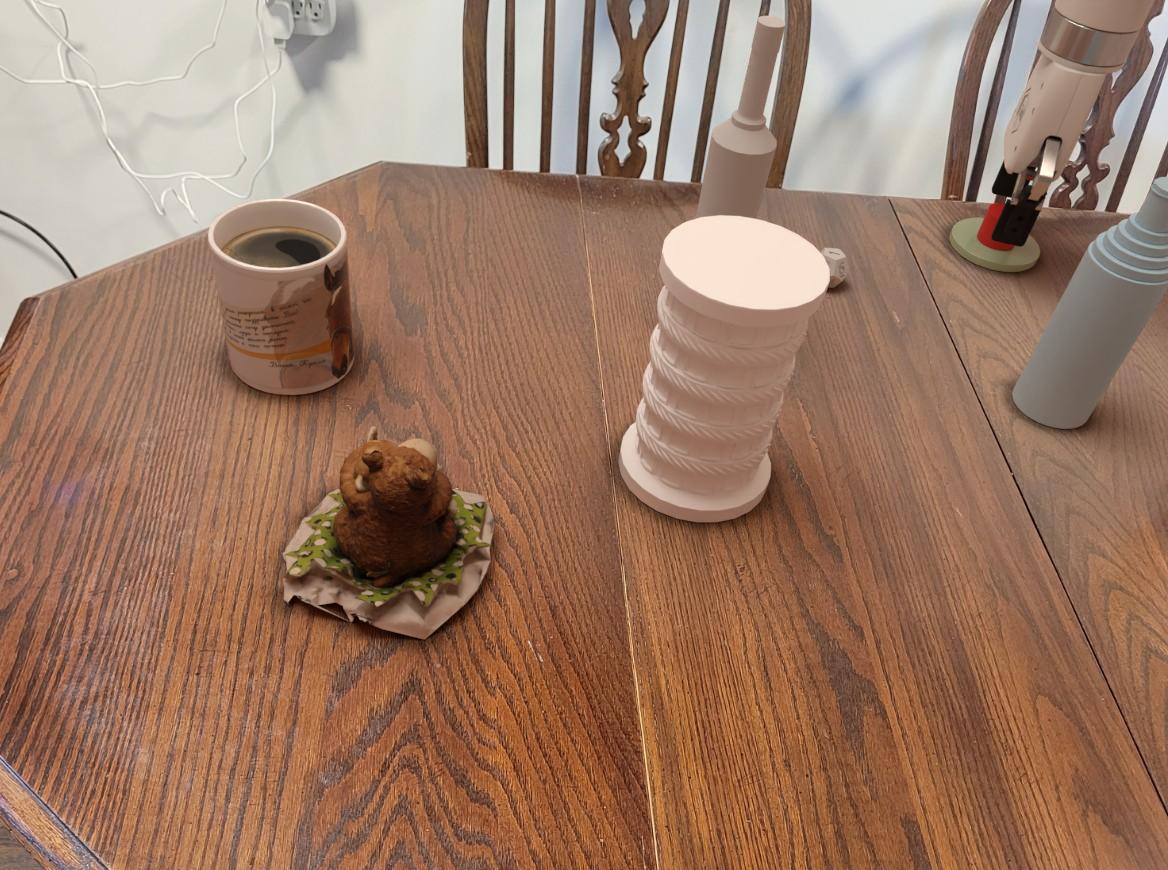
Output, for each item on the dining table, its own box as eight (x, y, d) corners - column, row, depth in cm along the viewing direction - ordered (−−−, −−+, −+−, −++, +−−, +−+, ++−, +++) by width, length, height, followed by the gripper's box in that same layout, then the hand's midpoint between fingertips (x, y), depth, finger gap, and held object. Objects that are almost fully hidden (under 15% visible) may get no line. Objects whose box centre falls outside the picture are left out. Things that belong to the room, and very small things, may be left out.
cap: (973, 227, 108) (985, 200, 105) (1010, 232, 108) (1023, 205, 106) (980, 248, 105) (992, 220, 103) (1018, 253, 105) (1031, 225, 103)
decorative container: (618, 515, 76) (658, 302, 63) (618, 413, 84) (654, 203, 70) (774, 529, 77) (848, 322, 63) (760, 427, 84) (823, 222, 71)
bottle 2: (1086, 391, 92) (1214, 175, 77) (1090, 437, 88) (1228, 217, 73) (1011, 373, 93) (1124, 155, 78) (1012, 418, 89) (1132, 196, 73)
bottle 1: (663, 307, 94) (722, 9, 75) (712, 298, 96) (782, 4, 77) (691, 340, 91) (760, 39, 72) (741, 330, 93) (821, 33, 74)
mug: (204, 339, 85) (179, 212, 76) (336, 298, 90) (327, 175, 82) (265, 411, 80) (245, 284, 71) (401, 363, 85) (398, 239, 77)
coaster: (1035, 236, 110) (1039, 229, 109) (1038, 280, 104) (1041, 273, 103) (950, 216, 110) (953, 209, 110) (947, 259, 105) (950, 252, 104)
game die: (841, 296, 98) (851, 268, 96) (803, 286, 99) (811, 257, 96) (846, 277, 100) (856, 249, 98) (809, 267, 101) (817, 239, 99)
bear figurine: (526, 511, 75) (540, 375, 66) (440, 663, 66) (442, 528, 57) (356, 455, 77) (346, 314, 68) (247, 594, 68) (219, 453, 59)
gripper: (1041, -5, 98) (970, 171, 111) (1047, 66, 86) (967, 252, 99) (1122, 12, 97) (1041, 187, 110) (1139, 86, 86) (1046, 271, 99)
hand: (1006, 218), depth 105 cm, fingers open, 9 cm apart
